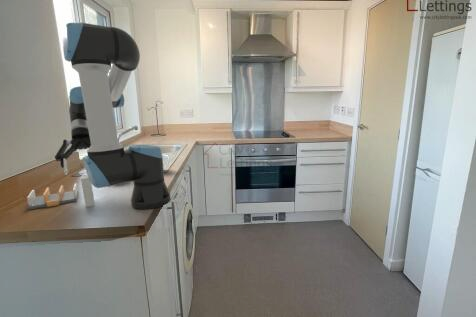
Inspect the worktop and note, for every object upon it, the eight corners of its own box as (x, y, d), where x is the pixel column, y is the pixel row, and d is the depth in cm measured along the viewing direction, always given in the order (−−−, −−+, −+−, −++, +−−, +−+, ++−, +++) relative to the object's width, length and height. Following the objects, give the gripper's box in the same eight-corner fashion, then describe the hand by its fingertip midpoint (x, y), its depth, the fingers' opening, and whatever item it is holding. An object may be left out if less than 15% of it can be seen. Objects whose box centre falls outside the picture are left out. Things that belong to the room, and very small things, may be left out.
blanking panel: (94, 205, 103) (89, 177, 100) (85, 206, 102) (80, 178, 99) (94, 200, 108) (89, 173, 106) (86, 201, 107) (81, 175, 104)
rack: (76, 201, 107) (74, 190, 106) (28, 210, 100) (25, 198, 99) (78, 192, 118) (76, 182, 117) (35, 199, 111) (32, 189, 110)
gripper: (111, 134, 126) (118, 170, 117) (49, 139, 115) (51, 180, 106) (110, 124, 121) (117, 161, 111) (45, 128, 109) (46, 170, 100)
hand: (85, 170), depth 108 cm, fingers open, 13 cm apart
